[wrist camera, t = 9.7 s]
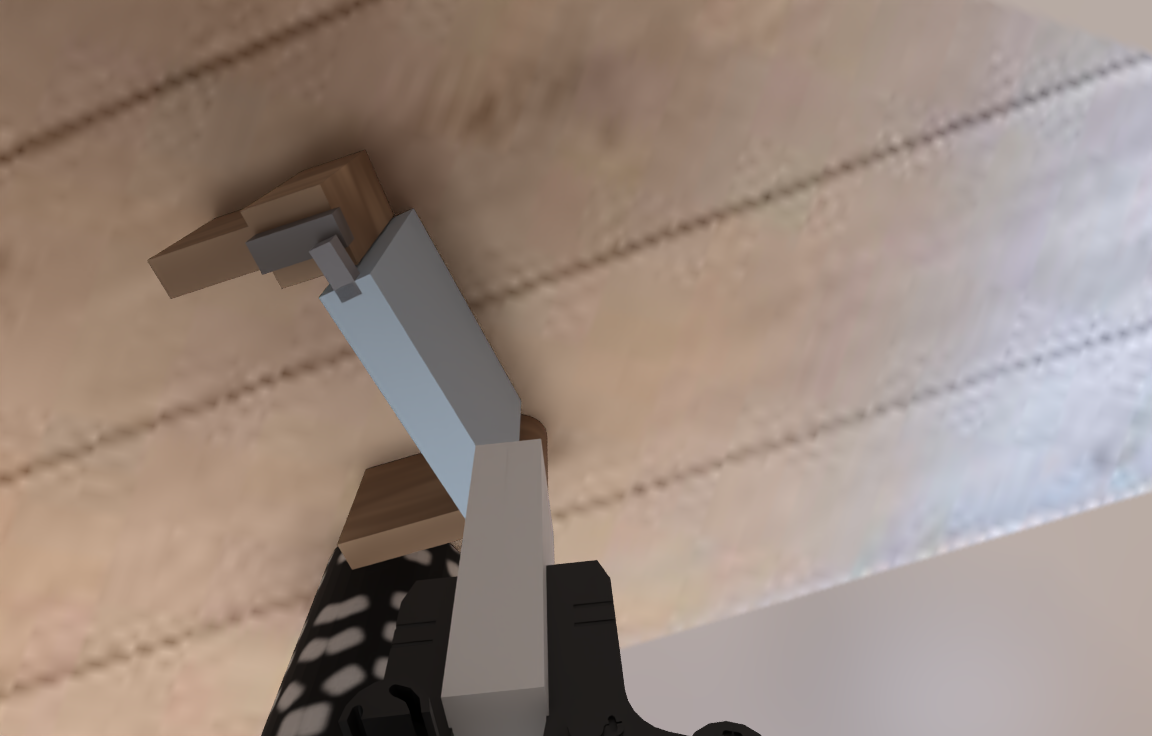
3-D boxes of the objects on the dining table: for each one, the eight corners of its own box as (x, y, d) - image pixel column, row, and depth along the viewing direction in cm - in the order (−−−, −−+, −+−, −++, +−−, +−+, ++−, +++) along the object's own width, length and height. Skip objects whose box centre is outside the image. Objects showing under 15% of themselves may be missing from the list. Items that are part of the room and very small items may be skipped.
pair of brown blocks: (206, 203, 31) (50, 290, 21) (428, 128, 30) (373, 182, 20) (372, 503, 39) (315, 669, 29) (554, 451, 38) (559, 605, 28)
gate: (521, 401, 36) (515, 510, 28) (486, 415, 36) (471, 528, 28) (396, 177, 31) (345, 233, 23) (356, 196, 31) (293, 259, 23)
